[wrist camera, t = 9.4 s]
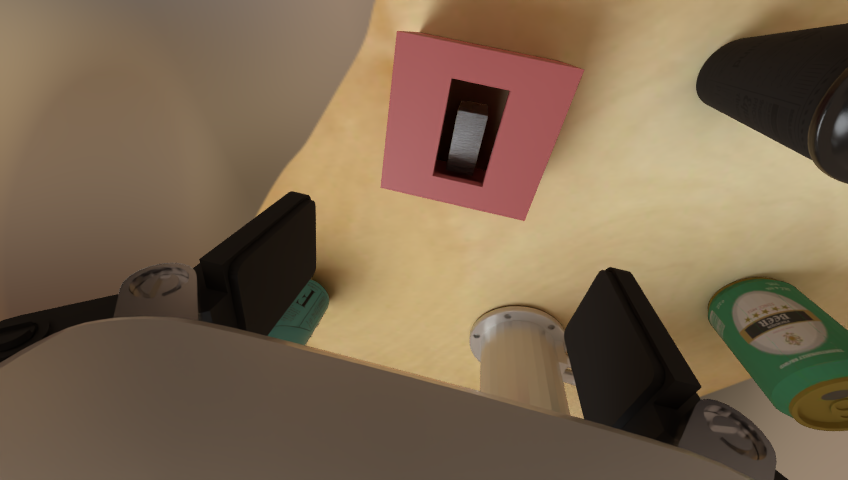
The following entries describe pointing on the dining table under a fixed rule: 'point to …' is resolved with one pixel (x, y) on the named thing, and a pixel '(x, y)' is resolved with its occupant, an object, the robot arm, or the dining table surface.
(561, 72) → the red slotted block
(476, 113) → the grey flat block
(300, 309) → the beverage bottle
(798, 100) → the drinking cup
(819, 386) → the beverage can
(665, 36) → the dining table surface
